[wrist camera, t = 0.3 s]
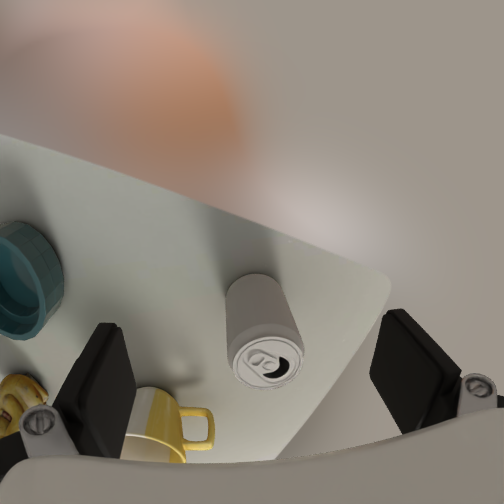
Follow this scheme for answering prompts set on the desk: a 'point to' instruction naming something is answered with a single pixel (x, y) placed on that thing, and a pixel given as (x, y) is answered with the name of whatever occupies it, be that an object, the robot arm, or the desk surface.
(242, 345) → the beverage can
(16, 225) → the bowl
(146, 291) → the desk surface
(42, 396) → the decorative figurine
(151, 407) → the mug
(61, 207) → the desk surface
